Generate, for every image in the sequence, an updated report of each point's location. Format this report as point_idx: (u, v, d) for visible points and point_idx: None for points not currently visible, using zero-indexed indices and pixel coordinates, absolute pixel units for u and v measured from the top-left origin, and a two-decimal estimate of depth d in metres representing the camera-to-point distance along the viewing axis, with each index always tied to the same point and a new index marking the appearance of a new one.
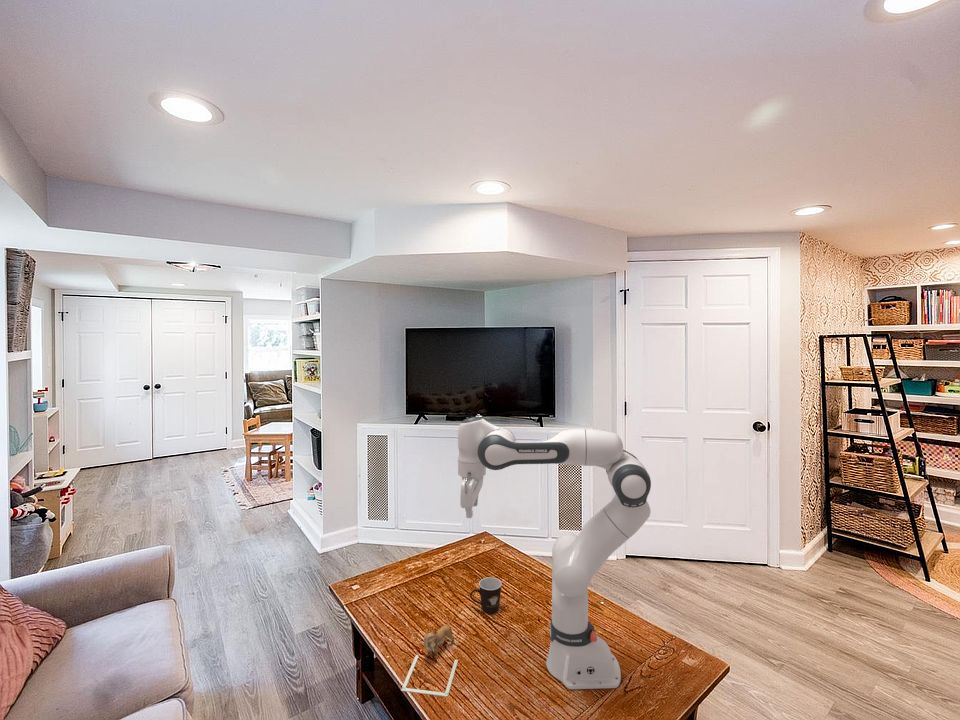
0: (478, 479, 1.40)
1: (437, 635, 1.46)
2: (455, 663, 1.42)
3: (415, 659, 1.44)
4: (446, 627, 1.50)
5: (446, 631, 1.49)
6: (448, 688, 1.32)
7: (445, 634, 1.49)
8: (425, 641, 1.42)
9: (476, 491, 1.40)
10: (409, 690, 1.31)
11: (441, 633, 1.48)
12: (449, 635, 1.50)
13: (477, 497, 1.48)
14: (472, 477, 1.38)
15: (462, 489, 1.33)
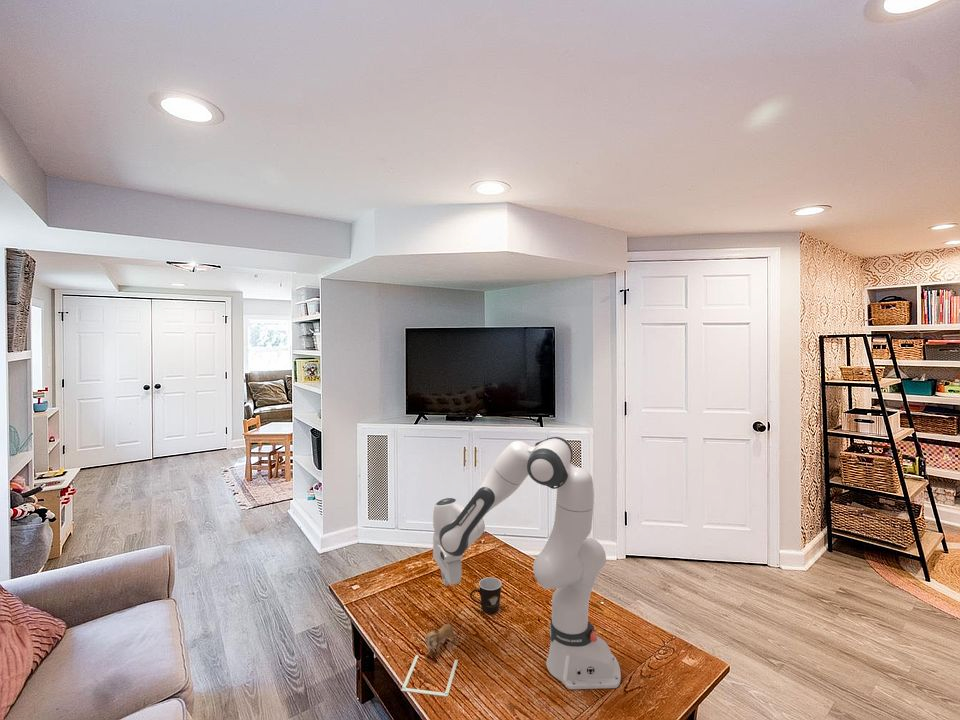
0: None
1: (439, 634, 1.47)
2: (455, 663, 1.42)
3: (415, 659, 1.44)
4: (447, 626, 1.50)
5: (448, 630, 1.50)
6: (448, 688, 1.32)
7: (446, 633, 1.50)
8: (427, 640, 1.43)
9: (439, 561, 1.58)
10: (409, 690, 1.31)
11: (442, 632, 1.48)
12: (450, 634, 1.50)
13: (444, 578, 1.56)
14: None
15: None
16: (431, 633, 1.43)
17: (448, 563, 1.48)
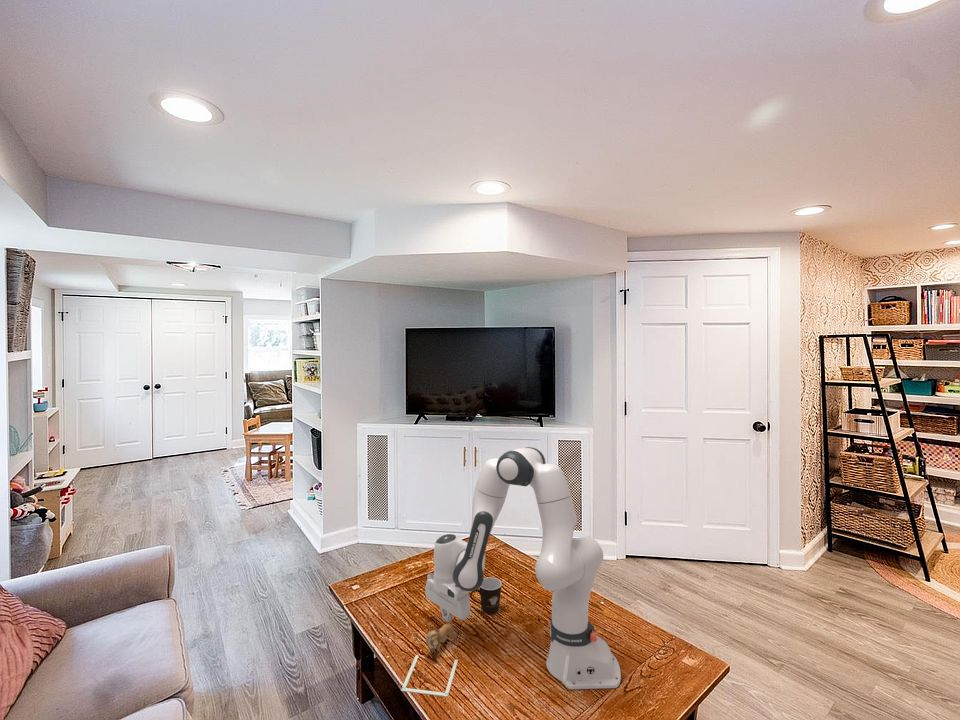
0: None
1: (439, 633, 1.47)
2: (455, 663, 1.42)
3: (415, 659, 1.44)
4: (448, 625, 1.51)
5: (448, 629, 1.50)
6: (448, 688, 1.32)
7: (447, 632, 1.50)
8: (428, 639, 1.43)
9: (439, 599, 1.58)
10: (409, 690, 1.31)
11: (443, 631, 1.49)
12: (451, 633, 1.51)
13: (447, 615, 1.57)
14: None
15: None
16: (432, 632, 1.44)
17: (458, 599, 1.50)
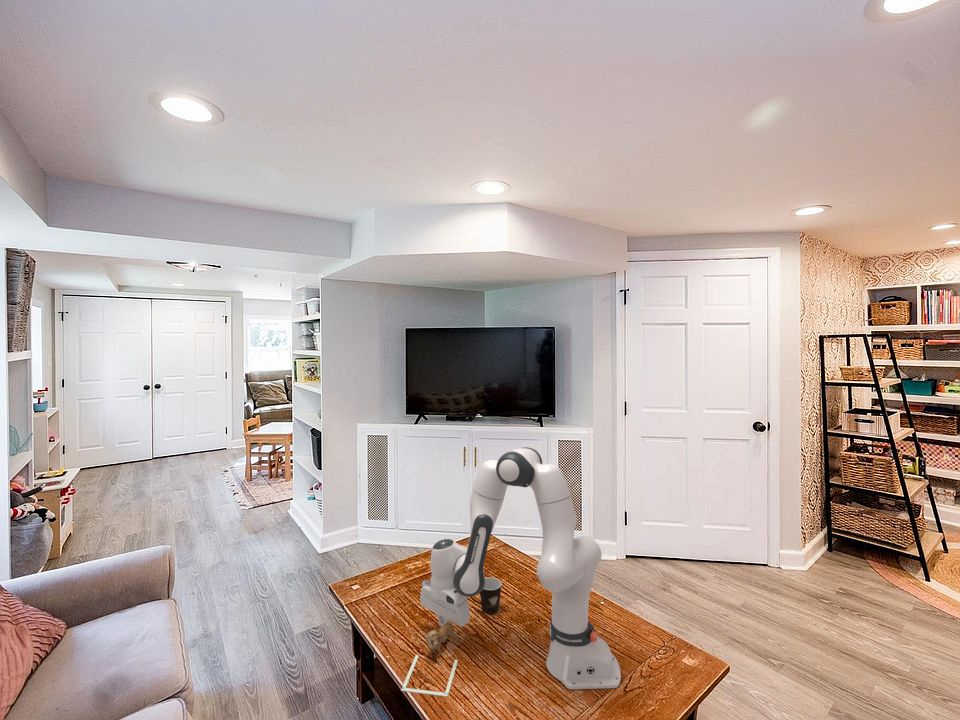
0: None
1: (440, 633, 1.47)
2: (455, 663, 1.42)
3: (415, 659, 1.44)
4: (448, 625, 1.51)
5: (449, 629, 1.50)
6: (448, 688, 1.32)
7: (447, 632, 1.50)
8: (428, 639, 1.43)
9: (435, 606, 1.54)
10: (409, 690, 1.31)
11: (443, 631, 1.49)
12: (451, 633, 1.51)
13: (444, 622, 1.53)
14: None
15: None
16: (432, 632, 1.44)
17: (458, 606, 1.47)
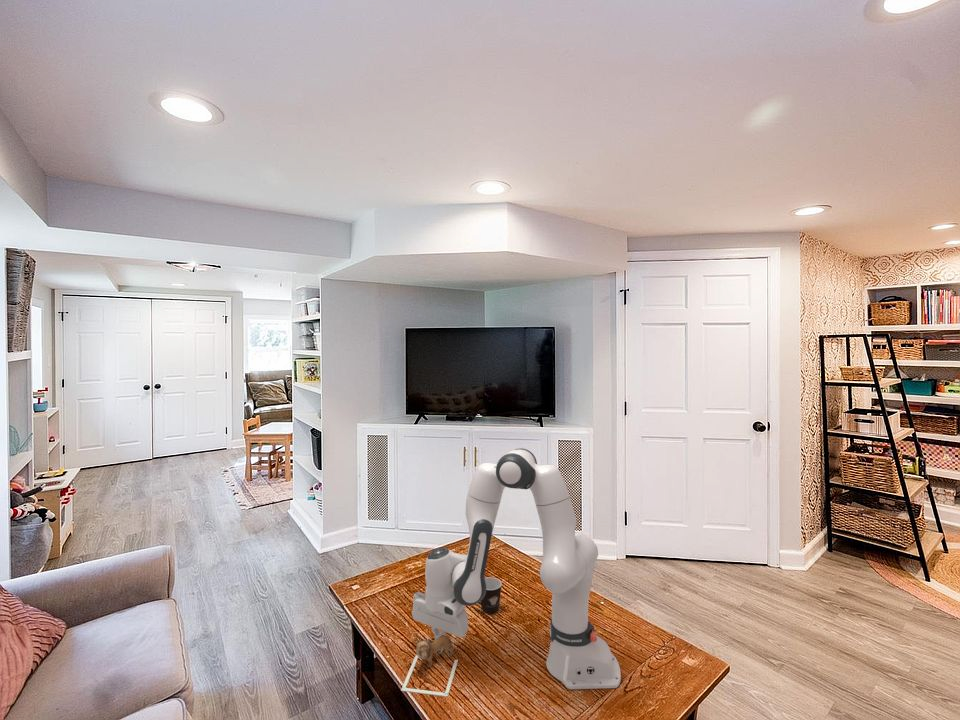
0: None
1: (432, 644, 1.42)
2: (455, 663, 1.42)
3: (415, 659, 1.44)
4: (444, 638, 1.44)
5: (444, 642, 1.44)
6: (448, 688, 1.32)
7: (442, 645, 1.44)
8: (417, 649, 1.38)
9: (430, 619, 1.47)
10: (409, 690, 1.31)
11: (437, 643, 1.43)
12: (446, 647, 1.44)
13: (440, 634, 1.47)
14: None
15: None
16: (422, 643, 1.39)
17: (457, 616, 1.42)
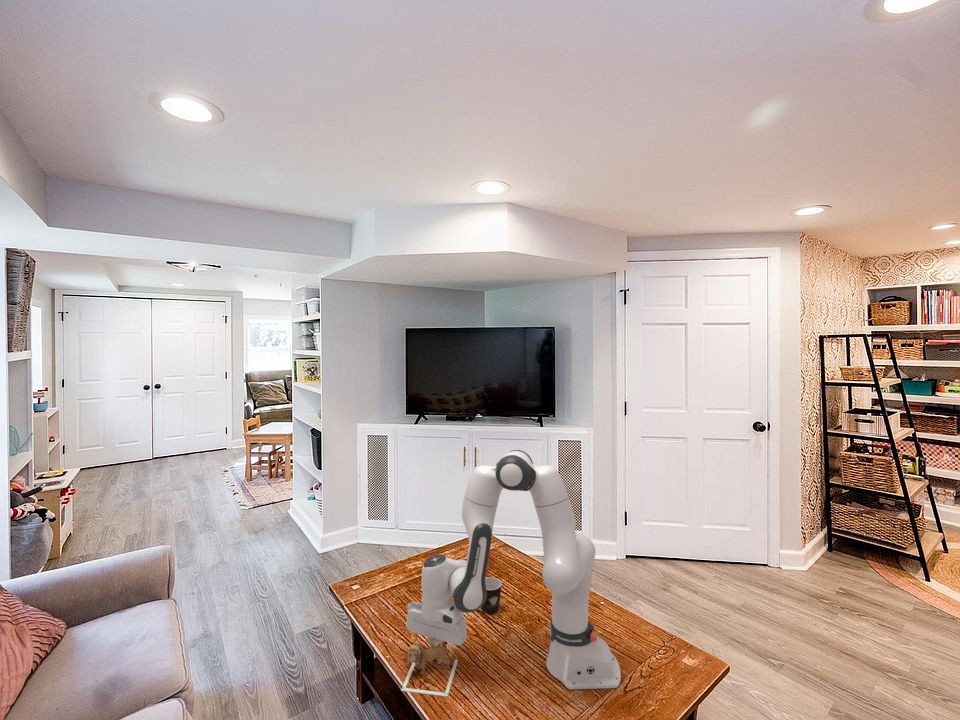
0: None
1: (426, 651, 1.39)
2: (455, 663, 1.42)
3: None
4: (440, 648, 1.40)
5: (438, 652, 1.39)
6: (448, 688, 1.32)
7: (437, 655, 1.39)
8: (408, 651, 1.37)
9: (427, 629, 1.42)
10: (409, 690, 1.31)
11: (432, 651, 1.39)
12: (441, 658, 1.39)
13: (438, 644, 1.42)
14: None
15: None
16: (413, 646, 1.37)
17: (456, 624, 1.38)
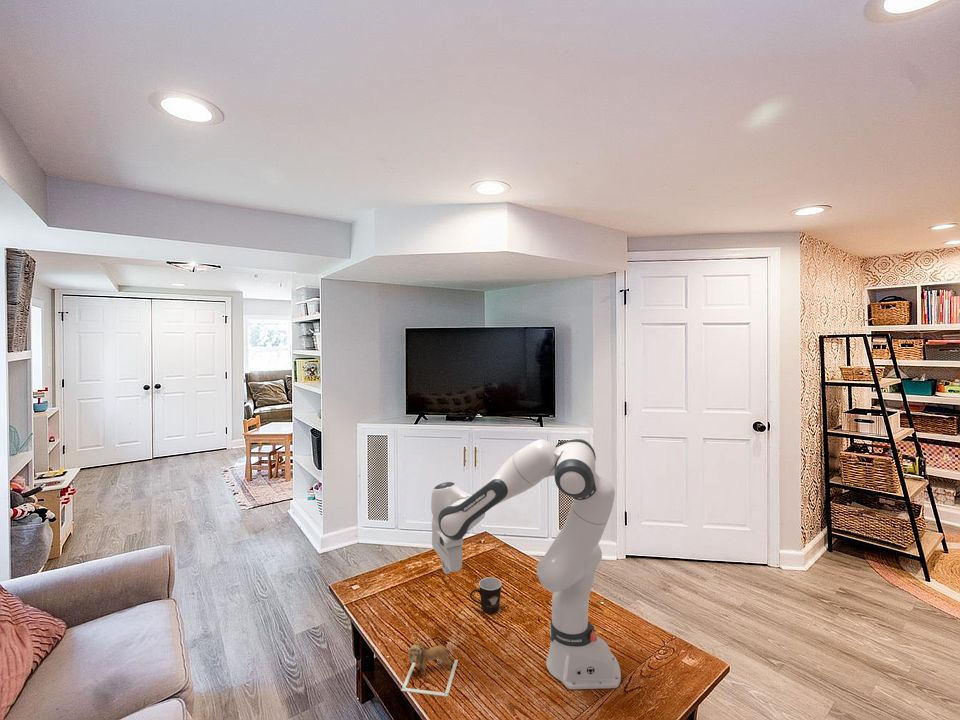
0: None
1: (427, 651, 1.39)
2: (455, 663, 1.42)
3: None
4: (441, 648, 1.40)
5: (439, 652, 1.39)
6: (448, 688, 1.32)
7: (438, 655, 1.39)
8: (409, 651, 1.37)
9: (438, 549, 1.51)
10: (409, 690, 1.31)
11: (433, 651, 1.39)
12: (442, 658, 1.39)
13: (444, 566, 1.49)
14: None
15: None
16: (414, 646, 1.37)
17: (448, 549, 1.41)
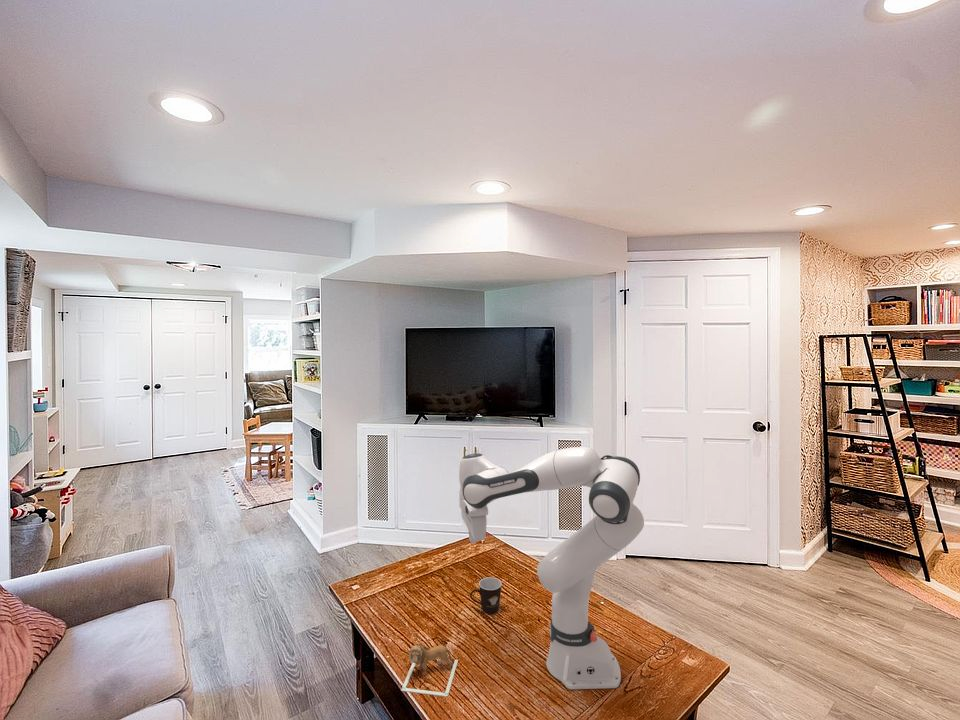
0: None
1: (427, 652, 1.39)
2: (455, 663, 1.42)
3: None
4: (441, 648, 1.40)
5: (440, 652, 1.39)
6: (448, 688, 1.32)
7: (438, 655, 1.39)
8: (409, 652, 1.37)
9: (466, 518, 1.53)
10: (409, 690, 1.31)
11: (433, 652, 1.39)
12: (443, 658, 1.39)
13: (471, 535, 1.50)
14: None
15: None
16: (414, 647, 1.37)
17: (472, 518, 1.42)
